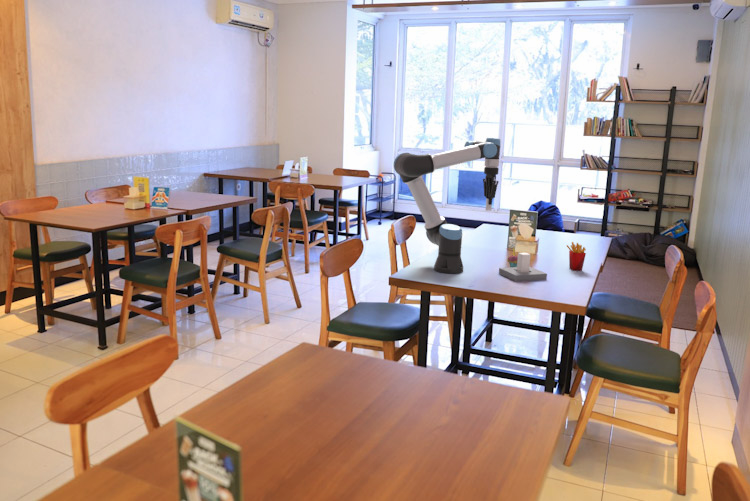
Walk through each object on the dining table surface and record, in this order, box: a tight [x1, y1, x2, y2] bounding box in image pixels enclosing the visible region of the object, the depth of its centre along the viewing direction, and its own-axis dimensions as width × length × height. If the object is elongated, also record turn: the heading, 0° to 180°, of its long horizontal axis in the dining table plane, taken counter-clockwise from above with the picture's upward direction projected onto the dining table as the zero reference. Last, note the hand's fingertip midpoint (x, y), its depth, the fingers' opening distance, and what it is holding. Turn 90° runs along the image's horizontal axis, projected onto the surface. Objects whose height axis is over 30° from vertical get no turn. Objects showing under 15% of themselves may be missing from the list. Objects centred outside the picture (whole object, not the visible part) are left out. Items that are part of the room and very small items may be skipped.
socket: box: [498, 266, 548, 282], centre depth 326 cm, size 18×16×3 cm
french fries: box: [566, 241, 587, 272], centre depth 343 cm, size 9×8×15 cm
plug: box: [517, 252, 531, 273], centre depth 325 cm, size 4×4×12 cm
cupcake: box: [507, 246, 518, 267], centre depth 342 cm, size 9×8×12 cm
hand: (488, 210), depth 348 cm, fingers closed
